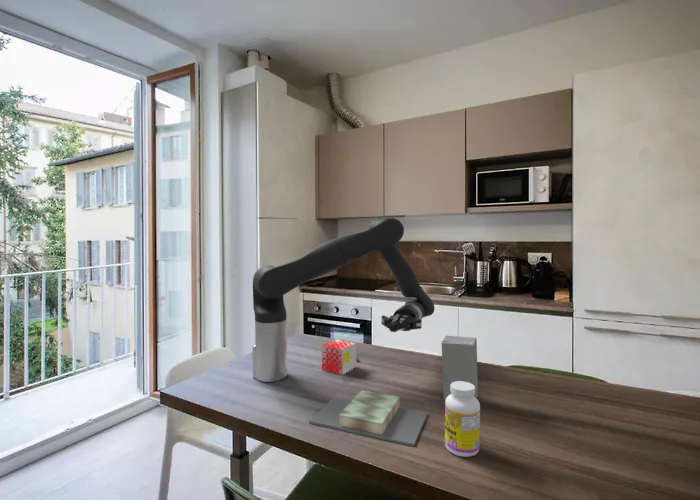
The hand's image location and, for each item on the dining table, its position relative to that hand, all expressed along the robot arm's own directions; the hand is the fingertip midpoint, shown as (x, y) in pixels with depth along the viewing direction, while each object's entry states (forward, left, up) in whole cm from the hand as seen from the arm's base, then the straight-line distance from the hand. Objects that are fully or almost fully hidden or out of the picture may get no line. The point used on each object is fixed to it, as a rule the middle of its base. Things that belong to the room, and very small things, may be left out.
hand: (392, 328), depth 104 cm
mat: (0, -20, -17) cm, 26 cm away
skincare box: (+18, -1, -17) cm, 25 cm away
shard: (-22, +19, -17) cm, 34 cm away
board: (0, -12, -15) cm, 19 cm away
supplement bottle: (+21, -24, -17) cm, 36 cm away
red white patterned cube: (-20, +7, -17) cm, 27 cm away
